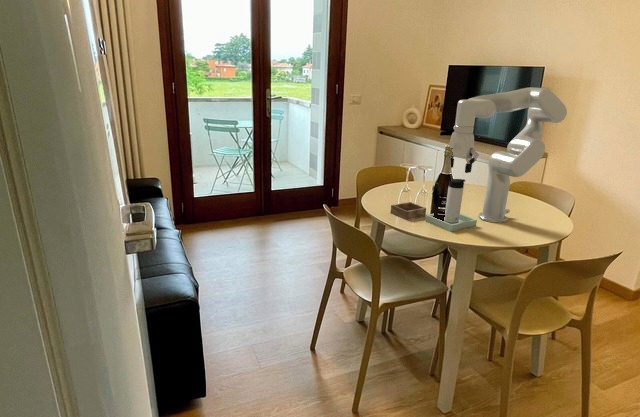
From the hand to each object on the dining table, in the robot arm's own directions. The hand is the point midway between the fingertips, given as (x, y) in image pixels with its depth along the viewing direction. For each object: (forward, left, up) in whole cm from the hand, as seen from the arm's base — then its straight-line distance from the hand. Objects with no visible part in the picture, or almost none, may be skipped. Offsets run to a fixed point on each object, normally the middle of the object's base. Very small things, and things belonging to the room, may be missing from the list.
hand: (458, 170), depth 182 cm
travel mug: (0, 0, -24) cm, 24 cm away
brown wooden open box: (+9, -18, -25) cm, 32 cm away
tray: (0, 0, -25) cm, 25 cm away
